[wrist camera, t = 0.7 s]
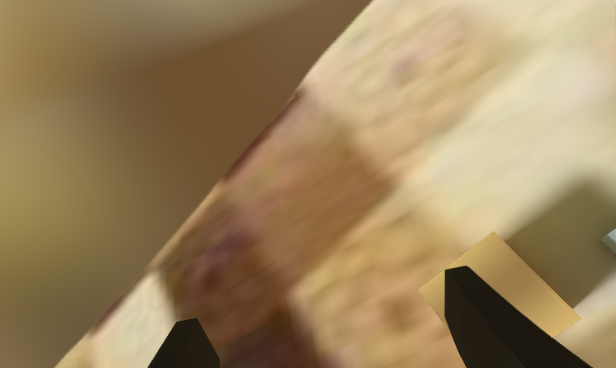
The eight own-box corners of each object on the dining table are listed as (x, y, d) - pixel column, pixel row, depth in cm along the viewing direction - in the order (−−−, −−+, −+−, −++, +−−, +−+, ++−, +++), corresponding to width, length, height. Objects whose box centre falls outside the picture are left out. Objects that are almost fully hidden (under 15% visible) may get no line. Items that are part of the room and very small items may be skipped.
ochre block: (569, 311, 20) (581, 318, 15) (497, 359, 21) (488, 380, 16) (501, 243, 23) (493, 231, 18) (441, 289, 24) (418, 290, 19)
